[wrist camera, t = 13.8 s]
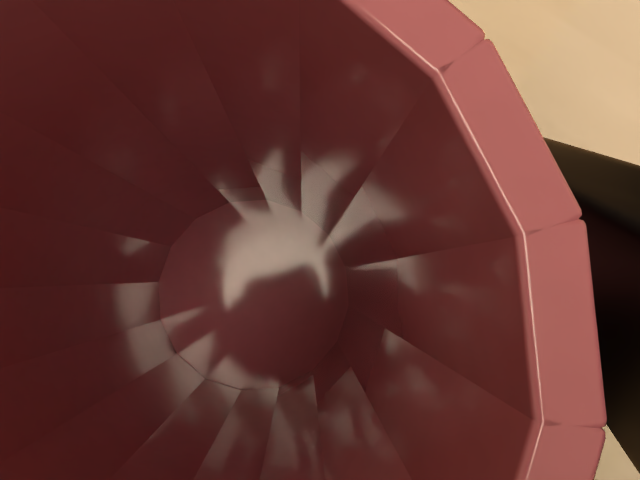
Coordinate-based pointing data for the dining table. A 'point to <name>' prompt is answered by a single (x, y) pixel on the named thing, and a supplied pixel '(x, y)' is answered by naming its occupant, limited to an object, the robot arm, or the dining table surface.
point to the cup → (284, 249)
